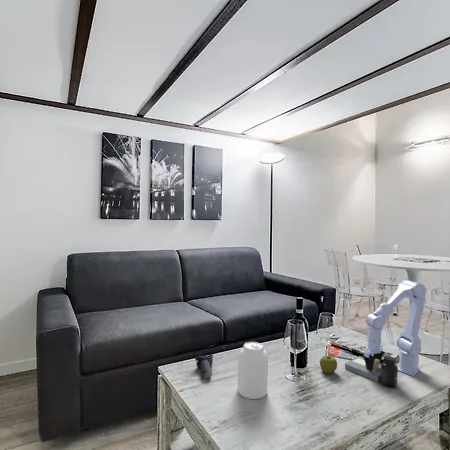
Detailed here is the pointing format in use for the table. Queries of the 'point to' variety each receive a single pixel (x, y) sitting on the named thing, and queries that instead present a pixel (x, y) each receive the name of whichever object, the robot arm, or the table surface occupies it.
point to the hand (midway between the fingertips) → (373, 367)
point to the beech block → (376, 365)
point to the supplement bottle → (389, 372)
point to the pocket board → (362, 369)
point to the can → (252, 371)
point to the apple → (328, 364)
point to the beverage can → (205, 365)
